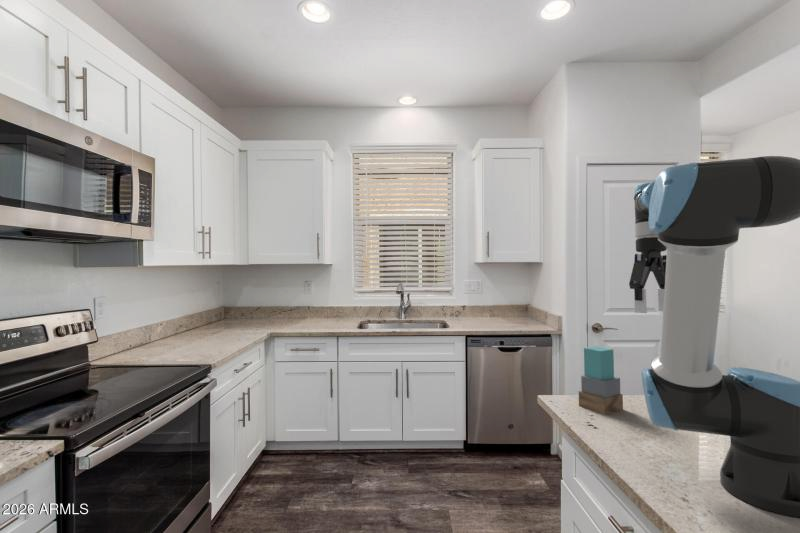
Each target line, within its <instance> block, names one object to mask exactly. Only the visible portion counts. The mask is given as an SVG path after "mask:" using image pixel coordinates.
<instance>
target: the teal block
mask: <svg viewBox="0 0 800 533" xmlns="http://www.w3.org/2000/svg"><path fill="white" fill-rule="evenodd" d="M614 360H615V359H614V349H611V348H608V347H602V346H597V345H596V346H589V347H583V367H584V369H583V370H584V372H583V373H584V375H585V376H587V377H590V378H594V379H598V380H606V379H611V378H614V377H615V369H614V368H615V365H614V364H615V363H614Z"/></svg>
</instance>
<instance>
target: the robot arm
mask: <svg viewBox="0 0 800 533" xmlns="http://www.w3.org/2000/svg"><path fill="white" fill-rule="evenodd" d="M633 201H634V217H635V222H634V223H635V224H634V226H635V227H634V232H635V233H634V234H635V235H634V236H635V238H637V239H636V240H635V252H637V253H635V254H634V260H633V262H634V263H633V266H632V271H631V275H630V279H629V283H628V285H629V289H631V290H633V292H634V294H633V295H634V299H633V300H634V314H635V313H637V314H638V313H639V314H647V313H648V312H647V289H646V288H645V287H646V283H647V280H648V278H649V276H650V273H653V276H654V278H655V280H656V283H657V285H658V287H659V288H658V289H657V298H658V299H657V302H658V311H659V312H662V328H661V344H660V346H661V347H660V355H658V356H656V357H655V358H653V359H652V361H651V365H650V366H651V368H645V369H644V368H643V369H642V370H641V381H642V389H643V393H644V398H645V399H644V400H645V404H646V408H647V412H648V416H649V419H650V421H651V422H652V424H653V425H655V426H657V427H659V428H666V429H670V430H671V429H672V430H674V431H685V432H693V433H701V434H710V435H711V434H712V435H720V436H728V437H730V438H729V439H730V446H729V449H728V451H727V453H726V455H725V459H724V460H723V462H722V465H721V467H720V469H719V476H720V477H719V478H720V484H721V486H722V487H723V488H724V489H725V491H727V492H728V493H729V494H731V495H733V496H734V497H736V498H738V499H740V500H741V501H743V502H746V503H748V504H749V505H752V506H755V507H757V508H760V509H764V510H765V511H770V512H772V513H776V514H780V515H784V516H788V517H789V516H791V517H795V518H800V381H799V380H796V379H794V378H791V377H788V376H785V375H784V376H783V375H782V374H781V375H780V374H778V373H772V372H769V371H764V370H759V369H753V368H748V367H747V368H746V367H736V366H732V367H730V368H729V369H728V370H727V375H725V374H723V373H722V371H721V369H720V367H718V366H717V365H716V364H714V362H715V354H716V345H717V344H716V343H717V335H718V334H717V332H718V324H719V323H718V322H719V316H720V315H719V314H720V307H721V306H720V305H721V298H722V297H721V295H722V294H721V293H722V285H723V278H724V277H723V276H724V268H725V267H724V266H725V260H726V259H725V257H726V250H727V249H728V248H729V247H732V246H734V245H735V244H736V243H738V241H739V234H740V229H748V228H749V229H750V228H764V227H765V228H766V227H773V226H778V225H782V224H786V223H789V222H792V221H795V220H797V219H800V159H799V158H795V157H790V156H782V155H768V156H766V155H763V156H756V157H747V158H737V159H728V160H727V159H726V160H724V159H723V160H714V161H712V160H711V161H701V162H689V163H687V164H686V163H685V164H680V165H674V166H673V165H672V166H669V167H666V168H664V169H663V170H662V171H661V172H660V173H659V174H658V176H657V177H656V179H655V180H653V181H651V182H646V183H641V184H639V185H637V186H636V187H635V188H634V196H633ZM661 252H666V254H665V255H664V254H663V255H662V254H661Z"/></svg>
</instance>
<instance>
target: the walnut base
mask: <svg viewBox="0 0 800 533" xmlns="http://www.w3.org/2000/svg"><path fill="white" fill-rule="evenodd" d="M623 398H624V395H623V394H622V393H620V394H618V395H615V396H612V397H608V398H603V397H599V396H595V395H592V394H588V393H585V392H582V390H578V407H580V408H584V409H586V410H587V409H588V410H590V411H593V412H597V413H598V414H602V415H608V414H612V413H616V412H619V411H622V410H623V411H624V399H623Z"/></svg>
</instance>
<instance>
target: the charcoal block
mask: <svg viewBox="0 0 800 533" xmlns="http://www.w3.org/2000/svg"><path fill="white" fill-rule="evenodd" d="M580 378H581V379H580V380H581V381H580V383H581V391H582V392H585V393H588V394H592V395H595V396H599V397H603V398H608V397H612V396H615V395H618V394H621V378H620V377H619V376H618V377H617V376H614V378H611V379H606V380H598V379H594V378H590V377H587V376H585V374H584V375H581V377H580Z"/></svg>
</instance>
